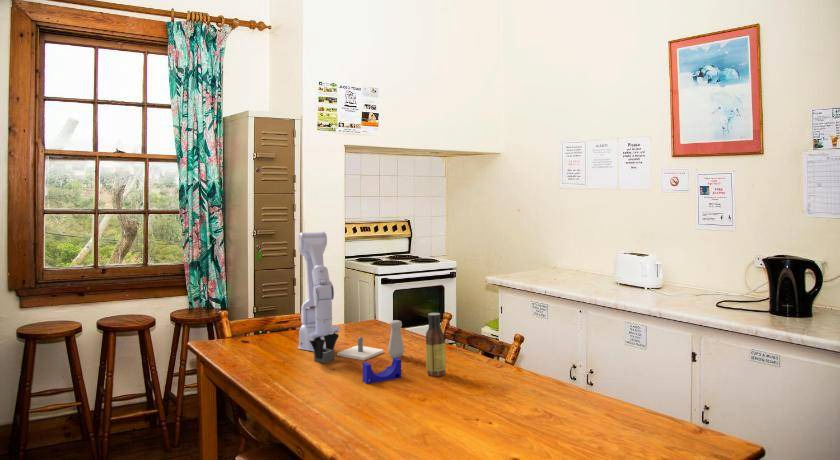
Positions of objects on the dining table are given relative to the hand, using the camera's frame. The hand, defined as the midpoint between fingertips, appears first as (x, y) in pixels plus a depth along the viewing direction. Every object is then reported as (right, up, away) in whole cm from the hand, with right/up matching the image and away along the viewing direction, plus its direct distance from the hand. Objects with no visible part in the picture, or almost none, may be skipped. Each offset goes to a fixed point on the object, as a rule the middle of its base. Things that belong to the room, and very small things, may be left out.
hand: (324, 356), depth 200 cm
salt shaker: (+25, -1, +5) cm, 26 cm away
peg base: (+12, -1, +8) cm, 14 cm away
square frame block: (0, -1, 0) cm, 1 cm away
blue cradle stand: (+21, -3, -19) cm, 29 cm away
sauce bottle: (+39, -3, -15) cm, 42 cm away
